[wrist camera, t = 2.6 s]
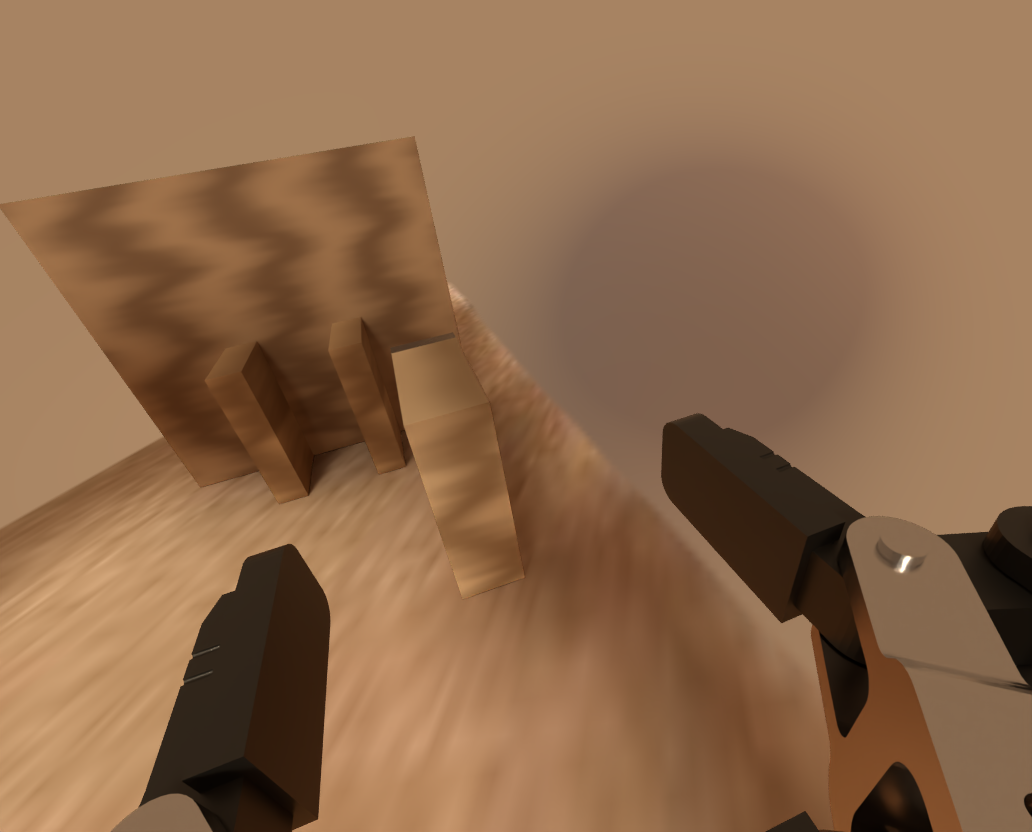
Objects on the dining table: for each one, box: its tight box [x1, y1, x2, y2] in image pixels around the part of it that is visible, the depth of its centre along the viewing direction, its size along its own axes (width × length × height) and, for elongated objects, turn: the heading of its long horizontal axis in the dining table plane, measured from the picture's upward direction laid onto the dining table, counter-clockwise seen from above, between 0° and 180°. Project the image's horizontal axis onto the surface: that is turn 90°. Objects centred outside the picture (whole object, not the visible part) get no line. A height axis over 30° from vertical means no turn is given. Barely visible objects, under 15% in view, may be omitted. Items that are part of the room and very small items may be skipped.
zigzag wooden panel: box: [0, 136, 462, 504], centre depth 29 cm, size 22×7×20 cm, turn 108°
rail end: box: [391, 332, 525, 599], centre depth 23 cm, size 3×8×11 cm, turn 18°
